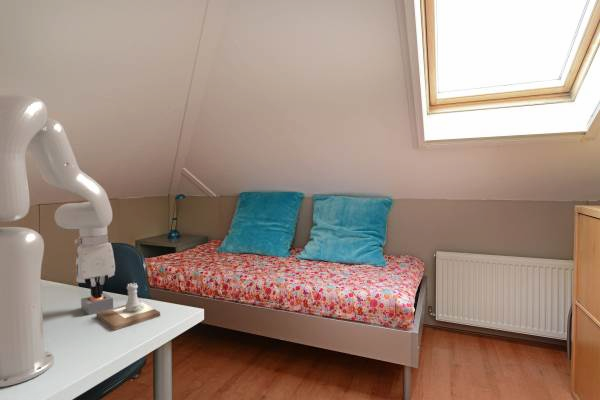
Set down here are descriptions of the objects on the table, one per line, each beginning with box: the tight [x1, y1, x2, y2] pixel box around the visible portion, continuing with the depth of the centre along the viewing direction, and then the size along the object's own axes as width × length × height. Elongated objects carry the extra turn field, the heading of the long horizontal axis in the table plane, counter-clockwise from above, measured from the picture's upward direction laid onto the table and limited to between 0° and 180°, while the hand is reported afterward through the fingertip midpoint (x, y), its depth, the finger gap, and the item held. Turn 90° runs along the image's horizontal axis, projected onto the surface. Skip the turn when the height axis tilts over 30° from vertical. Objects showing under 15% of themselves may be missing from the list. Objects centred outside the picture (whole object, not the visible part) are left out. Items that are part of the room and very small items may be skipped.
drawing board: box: [95, 300, 161, 331], centre depth 104 cm, size 13×14×1 cm
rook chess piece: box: [125, 282, 141, 312], centre depth 105 cm, size 4×4×8 cm
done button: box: [90, 295, 103, 302], centre depth 110 cm, size 4×4×2 cm
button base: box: [80, 292, 114, 316], centre depth 110 cm, size 7×7×3 cm
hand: (97, 296), depth 110 cm, fingers closed
